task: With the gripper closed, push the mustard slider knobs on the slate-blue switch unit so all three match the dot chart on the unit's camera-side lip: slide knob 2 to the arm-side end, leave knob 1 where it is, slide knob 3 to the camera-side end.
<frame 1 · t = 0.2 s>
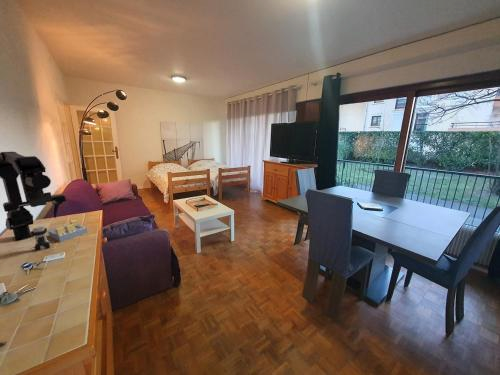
hand: (41, 220, 93), 14 cm above the table, fingers open, 9 cm apart
slider 3: (74, 223, 115), point 5 cm above the table, slide at 0.0 cm
slider 1: (60, 230, 105), point 5 cm above the table, slide at 6.0 cm
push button: (41, 249, 97), on the table
switch unit: (68, 234, 111), on the table
slider 2: (70, 227, 108), point 5 cm above the table, slide at 6.0 cm
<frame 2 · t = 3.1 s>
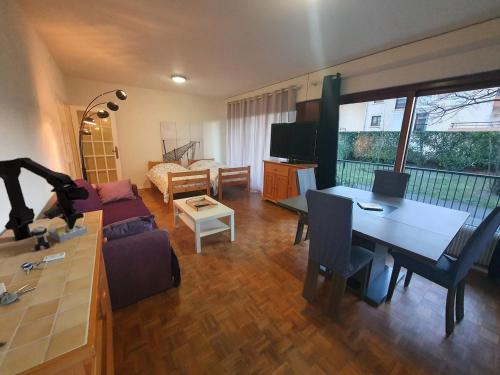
hand: (71, 229, 108), 4 cm above the table, fingers closed
slider 2: (69, 227, 109), point 5 cm above the table, slide at 5.0 cm, touching gripper
everything else where it was.
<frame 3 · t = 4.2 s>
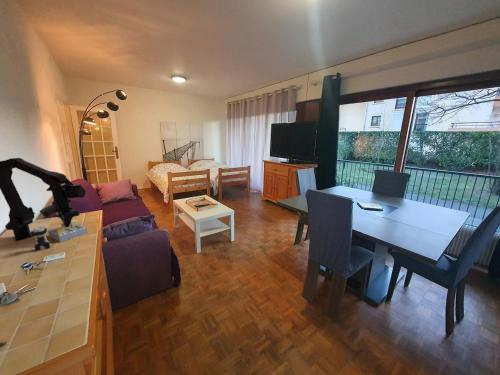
hand: (67, 227, 110), 4 cm above the table, fingers closed
slider 2: (65, 225, 111), point 5 cm above the table, slide at 0.2 cm, touching gripper
everything else where it was.
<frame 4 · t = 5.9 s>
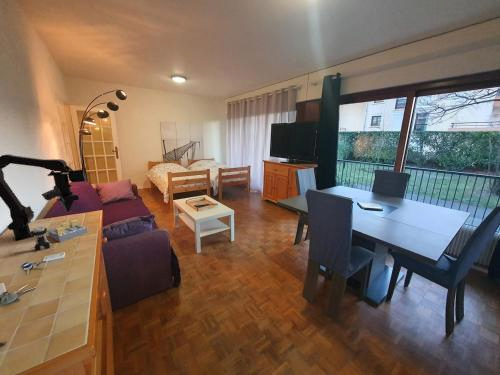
hand: (68, 211, 115), 11 cm above the table, fingers closed
slider 2: (65, 225, 111), point 5 cm above the table, slide at 0.2 cm
everything else where it was.
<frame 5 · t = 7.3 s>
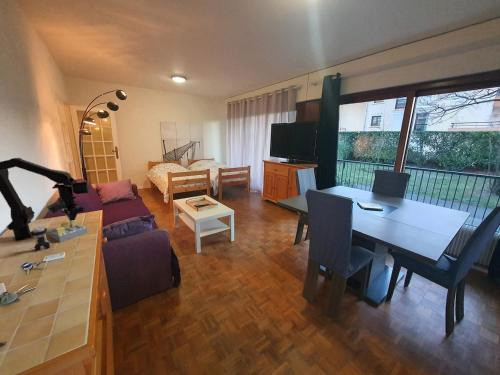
hand: (72, 222, 116), 4 cm above the table, fingers closed
slider 3: (74, 223, 115), point 5 cm above the table, slide at 0.0 cm, touching gripper
everything else where it was.
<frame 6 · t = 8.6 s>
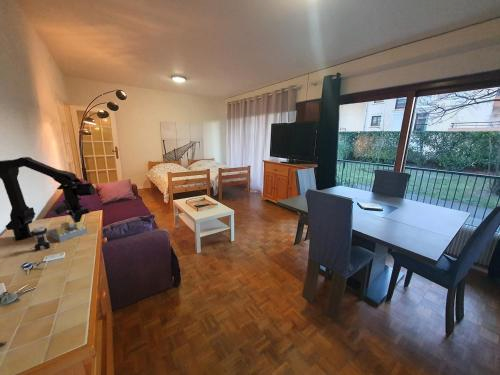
hand: (77, 224, 113), 4 cm above the table, fingers closed
slider 3: (79, 225, 112), point 5 cm above the table, slide at 5.8 cm, touching gripper
everything else where it was.
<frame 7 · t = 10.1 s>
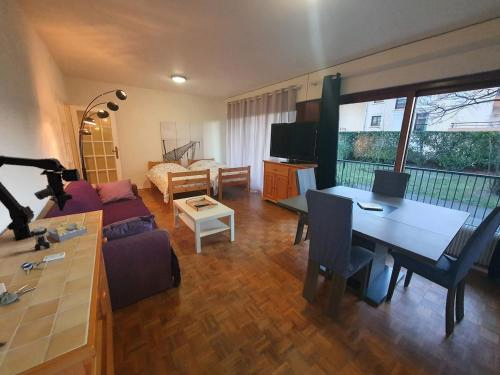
hand: (61, 211, 113), 12 cm above the table, fingers closed
slider 3: (79, 225, 112), point 5 cm above the table, slide at 5.8 cm
everything else where it was.
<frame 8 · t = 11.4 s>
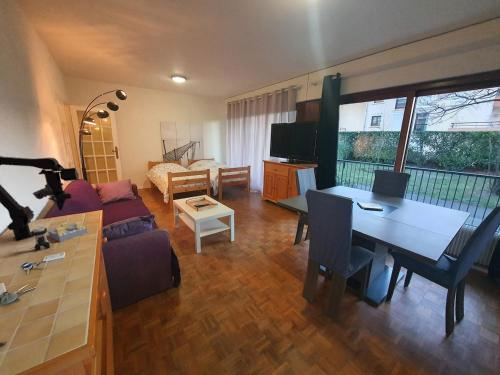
hand: (60, 210, 113), 12 cm above the table, fingers closed
nothing on the table moved.
at the end: slider 2 slide at 0.2 cm; slider 1 slide at 6.0 cm; slider 3 slide at 5.8 cm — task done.
